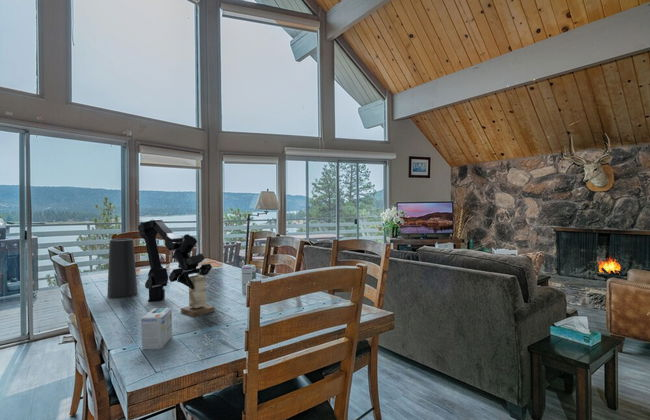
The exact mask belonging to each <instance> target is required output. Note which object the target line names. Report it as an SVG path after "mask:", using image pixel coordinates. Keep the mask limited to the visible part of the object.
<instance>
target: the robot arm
mask: <svg viewBox="0 0 650 420" xmlns="http://www.w3.org/2000/svg"><path fill="white" fill-rule="evenodd" d="M137 230H138V233H139V235H140V237H141V238H142V239H143V240H144V242H145V247H146V253H147V258H148V261H149V267H150V269H149V272H148V273H147V276H148V277H147V279H146V281H145V282H144V287H145V289H147V290H148V299H147V302H159V301H160V302H162V301H163V300H164V299H165V297H166V289H165V288H164V287H167V286H168V282H171V283H173V282H177V283H180V284H183V285H184V286H186V287H188V289H189V288H191V289H194V286H193V284H192V282H191V280H190V278H189V277H190V276H191V275H194V274H196V275H203V276H206V275H208V274H209V273H210V271H211V270H212V268H213V266H212V264H211V263H204V264H201V265H200V267H199V264H200V263H202V262H203V261H204V260H205V256H204V254H203V253H198V254H197V255H196V254H195V255H191V256H190V253H192V251H193V249H195V247H196V245H197V244H198V240H197V239H196V238H195V237H194V236H192V235H190V234H188V233H187V234H186V233H185V234H184V235H183V237H182V236H181V235H180V234H176V233H174V232H173V231H172V230H171V229H170V228H169V227H168V226H167V225H166V224H165V223H164V221H163V219H160V218H158V219H157V218H156V219H151V220H148V221H142V222H140V223H139V224H138V225H137ZM157 235H159V236H160V237H161V238H162V239H163V240H164V246H165V247H166V249H167V250H168V251H173V254H172V257H171V258H172V259H176V262H177V263H178V265H177V267H178V268H174V269H172V271H171V272H170V274H169V275H168V269H167V267H163V266H162V263H161V259H160V253H159V248H158V243H157V239H156V238H157ZM197 267H199V268H197ZM168 280H169V281H168Z"/></svg>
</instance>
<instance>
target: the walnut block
mask: <svg viewBox="0 0 650 420" xmlns="http://www.w3.org/2000/svg"><path fill="white" fill-rule="evenodd" d="M212 312H215V306H213V305H210V304H206V305H205V306H202V307H198V308H194V307H190V306H189V305H188V306H184V307H181V308H180V313H181V314H184V315H187V316H190V317H192V318H196V317H199V316H203V315H206V314H207V315H208V314H210V313H212Z"/></svg>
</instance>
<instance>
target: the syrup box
mask: <svg viewBox="0 0 650 420" xmlns="http://www.w3.org/2000/svg"><path fill="white" fill-rule="evenodd" d="M253 279H256V280H257V268H256V264H245V265H243V266H241V294H243V293H244V294H245V295H247V294H246V284H247V283H248V281H250V280H253Z"/></svg>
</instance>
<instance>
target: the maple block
mask: <svg viewBox="0 0 650 420" xmlns="http://www.w3.org/2000/svg"><path fill="white" fill-rule="evenodd" d="M189 278H190V280H191V282H192V284H193V286H194V289H191V288H189V287H188V293H189V294H188V297H189V298H188V299H189V300H188V301H189V302H188V304H189V305H188V306H190V307H194V308H198V307H202V306H205V305H207V288H206V287H207V284H206V282H207V281H206V279H207V278H206V275H205V276H203V275H197V274H196V275H189Z"/></svg>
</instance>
